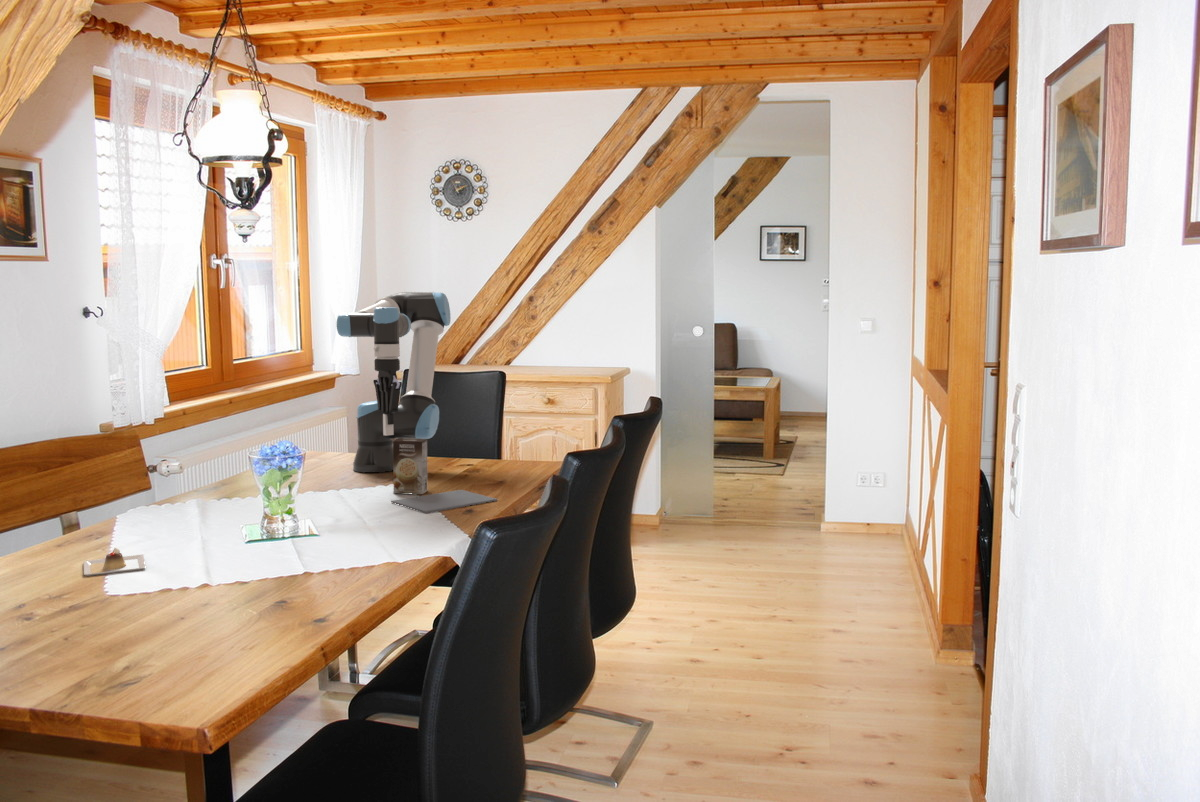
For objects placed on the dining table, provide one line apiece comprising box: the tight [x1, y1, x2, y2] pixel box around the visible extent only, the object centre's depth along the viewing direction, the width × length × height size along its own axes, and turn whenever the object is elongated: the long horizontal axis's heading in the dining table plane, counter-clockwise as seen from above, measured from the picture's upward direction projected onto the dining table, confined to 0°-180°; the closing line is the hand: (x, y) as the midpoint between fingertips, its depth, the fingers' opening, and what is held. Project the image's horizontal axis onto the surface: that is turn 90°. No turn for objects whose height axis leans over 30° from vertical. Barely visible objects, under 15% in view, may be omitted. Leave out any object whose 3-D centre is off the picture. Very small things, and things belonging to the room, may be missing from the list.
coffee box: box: [392, 438, 428, 495], centre depth 295 cm, size 9×6×16 cm
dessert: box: [83, 547, 147, 577], centre depth 216 cm, size 12×12×5 cm
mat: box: [390, 489, 498, 514], centre depth 283 cm, size 18×24×1 cm
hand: (388, 434), depth 303 cm, fingers closed
